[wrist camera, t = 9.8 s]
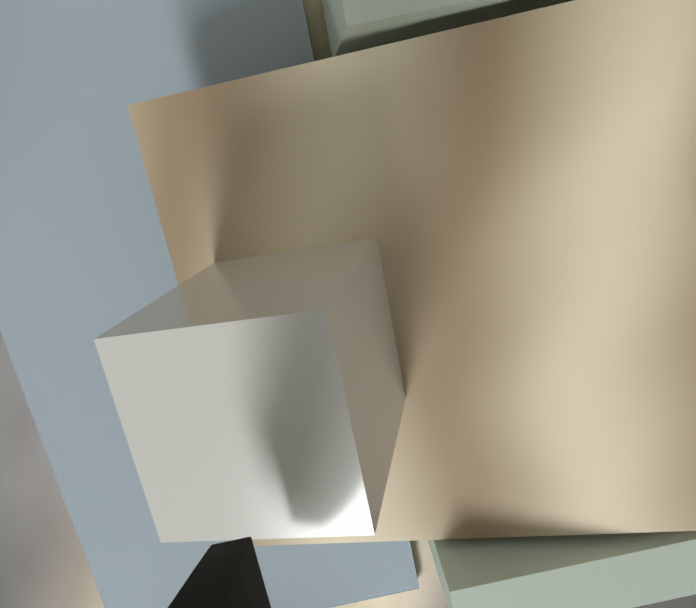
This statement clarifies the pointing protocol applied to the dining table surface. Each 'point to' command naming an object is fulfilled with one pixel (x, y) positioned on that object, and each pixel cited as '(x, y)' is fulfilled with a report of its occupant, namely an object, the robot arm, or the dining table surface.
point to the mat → (125, 266)
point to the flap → (485, 250)
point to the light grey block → (263, 396)
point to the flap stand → (535, 551)
